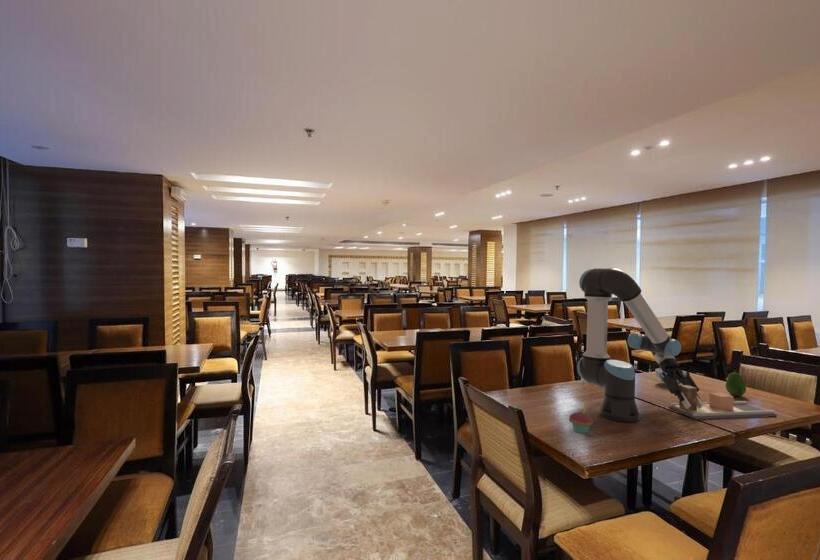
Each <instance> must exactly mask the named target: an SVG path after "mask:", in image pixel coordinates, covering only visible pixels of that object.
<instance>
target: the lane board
mask: <svg viewBox="0 0 820 560" xmlns="http://www.w3.org/2000/svg"><path fill="white" fill-rule="evenodd" d="M669 404H670V405H668V408H669V409H671V410H673V411H676V412H678V413H680V414H683V415H684V416H687V417H689V418H692V419H694V420H715V419H717V418H720V419H743V418H746V417H748V418H765V417H766V418H768V417H767V416H776V417H777V415H778V414H777V413H776V412H775V410H774V409H768V410H765V409H762V408H759V407H757V406H753V405H751V404H748V401H746V400H744V401H743V400H738V401H733V407H736V408H738V409H741V410H744V411H735V412H705V413H692V415H691V414H689V413H686V412H684V411H682V410H679V409H677V408H675V407H674V405H679V402H678V403H677V402H675V403H672V402H671V403H669ZM702 404H703V405H704V404H709V401H708V402H705V401H704V402H702Z"/></svg>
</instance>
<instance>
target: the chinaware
mask: <svg viewBox="0 0 820 560" xmlns="http://www.w3.org/2000/svg"><path fill="white" fill-rule="evenodd" d="M654 370H655V373H656V374H655V375H656V376H657V378H658V379H659V380H660V381H661V382H662V383H663V385H665V386H666V384H665V382H664V380H663V379H662V378H661V377H660V374H661V373H662V372H663V371H662V370H661V368H660V367H659V368H655V369H654ZM682 371H683V372H686V371H684V370H682ZM677 382H678V385H681V384H682V383H681V382H679V381H678V380H677Z"/></svg>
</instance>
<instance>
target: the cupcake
mask: <svg viewBox="0 0 820 560" xmlns="http://www.w3.org/2000/svg"><path fill="white" fill-rule="evenodd" d="M587 404H588V403H587V402H584V405H583V411H582V412H581V411H580V412H579V411H578V412H574V413H571V414H570V415H569V418H568V421H569V422H570V423H571V424H572V426H573V430H574V432H576V433H579V434H587V433H588V431H589V429H590V427H591V426H592V425H593V423H594V422H593V418H592V416H590V415H589V414H588V413H586V410H587V409H586V408H587Z"/></svg>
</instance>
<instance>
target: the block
mask: <svg viewBox="0 0 820 560" xmlns="http://www.w3.org/2000/svg"><path fill="white" fill-rule="evenodd" d="M708 402H709V406H711V407H713V408H716V409H719V410H733V402H734V395H732V394H727V393H726V392H725V393H724V392H721V391H719V392H709V393H708Z"/></svg>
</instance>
